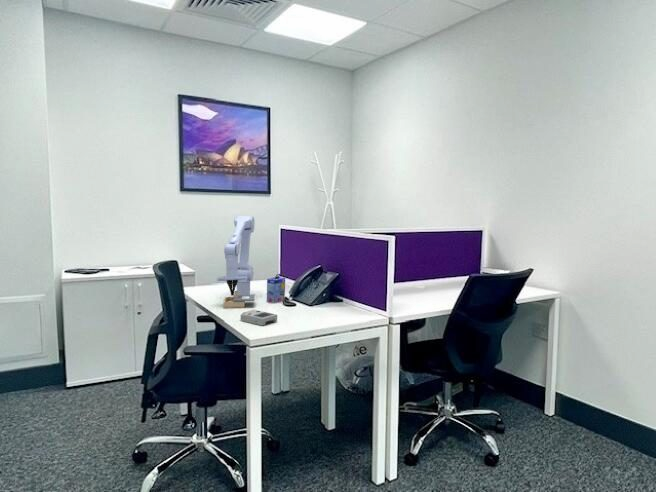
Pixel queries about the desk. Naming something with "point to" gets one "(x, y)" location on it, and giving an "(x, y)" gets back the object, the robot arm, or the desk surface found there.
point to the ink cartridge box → (275, 289)
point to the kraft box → (233, 303)
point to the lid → (243, 297)
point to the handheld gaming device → (258, 317)
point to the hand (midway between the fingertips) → (232, 295)
